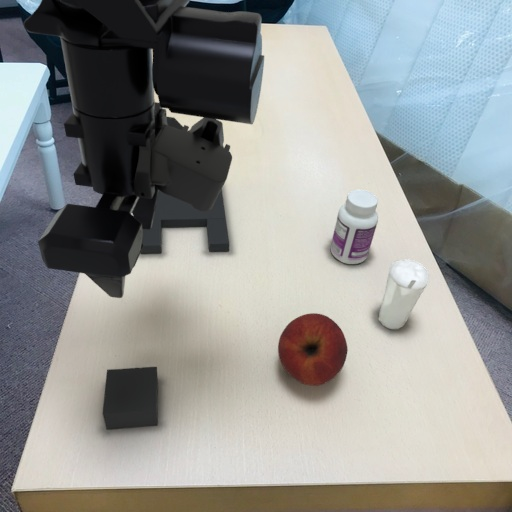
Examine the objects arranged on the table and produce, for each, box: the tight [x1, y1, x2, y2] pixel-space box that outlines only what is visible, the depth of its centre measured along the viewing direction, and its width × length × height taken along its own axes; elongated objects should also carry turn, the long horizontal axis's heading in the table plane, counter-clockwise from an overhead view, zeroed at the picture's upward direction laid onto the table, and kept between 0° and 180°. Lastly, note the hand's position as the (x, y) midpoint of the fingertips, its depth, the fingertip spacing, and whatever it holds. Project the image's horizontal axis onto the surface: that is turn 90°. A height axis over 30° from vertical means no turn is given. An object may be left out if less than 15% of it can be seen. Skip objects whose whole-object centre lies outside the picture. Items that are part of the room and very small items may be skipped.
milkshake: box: [378, 258, 430, 330], centre depth 60 cm, size 4×5×10 cm
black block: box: [102, 366, 159, 430], centre depth 51 cm, size 5×5×3 cm
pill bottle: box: [330, 189, 379, 265], centre depth 69 cm, size 5×5×10 cm
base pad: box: [140, 188, 230, 255], centre depth 75 cm, size 12×16×2 cm
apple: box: [277, 312, 349, 387], centre depth 55 cm, size 7×8×8 cm
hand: (132, 259), depth 47 cm, fingers open, 9 cm apart
